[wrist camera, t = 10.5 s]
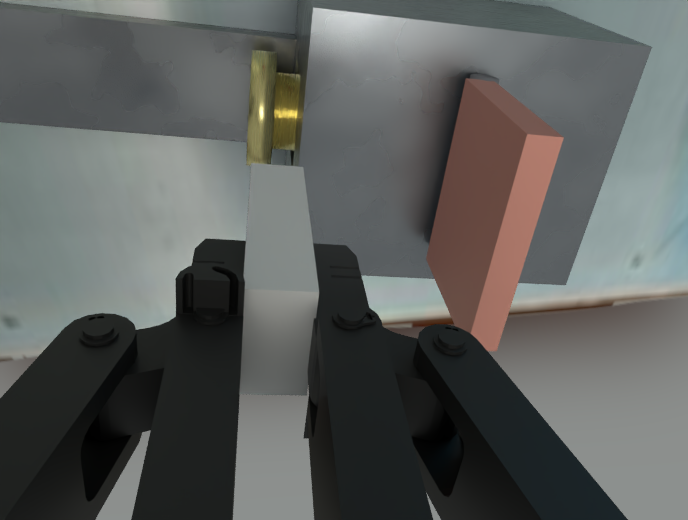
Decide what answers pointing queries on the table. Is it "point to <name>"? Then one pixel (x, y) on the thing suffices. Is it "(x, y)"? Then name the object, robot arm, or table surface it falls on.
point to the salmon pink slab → (489, 205)
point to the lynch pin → (270, 108)
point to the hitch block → (346, 103)
